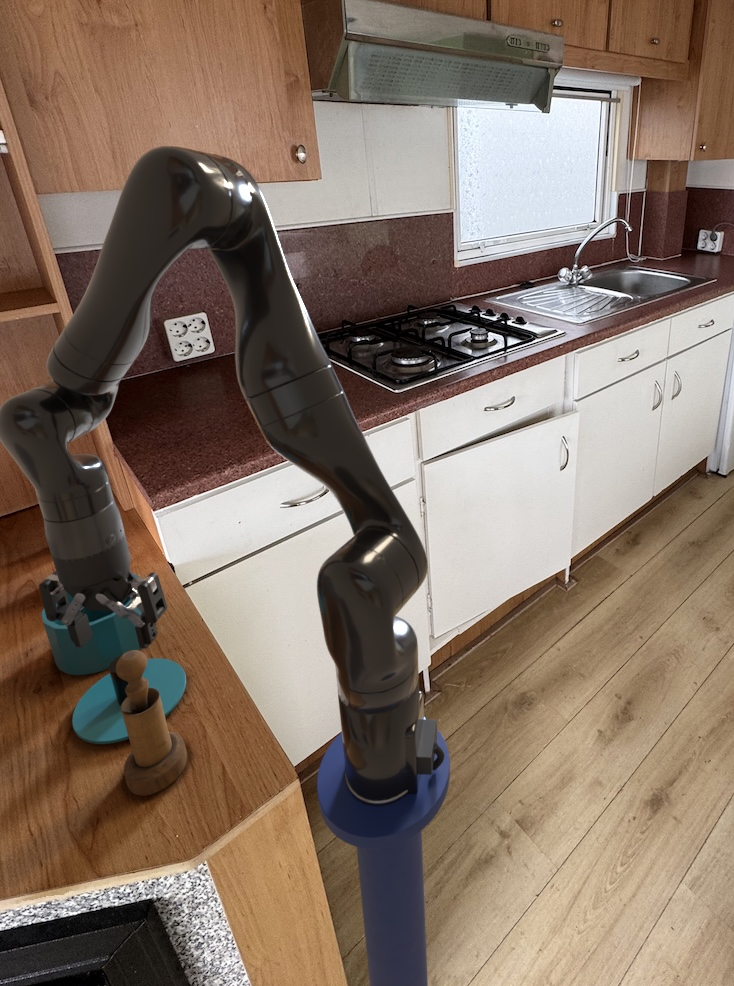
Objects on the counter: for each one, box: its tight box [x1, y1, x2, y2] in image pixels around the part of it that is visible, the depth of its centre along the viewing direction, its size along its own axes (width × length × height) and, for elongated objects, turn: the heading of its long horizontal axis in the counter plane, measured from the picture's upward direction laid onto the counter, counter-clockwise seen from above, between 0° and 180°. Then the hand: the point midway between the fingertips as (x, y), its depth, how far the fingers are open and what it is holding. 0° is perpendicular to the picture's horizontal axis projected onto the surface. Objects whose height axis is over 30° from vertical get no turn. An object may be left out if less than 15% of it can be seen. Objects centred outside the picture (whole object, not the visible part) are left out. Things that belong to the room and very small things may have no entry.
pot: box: [40, 572, 142, 676], centre depth 89 cm, size 13×13×8 cm
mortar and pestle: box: [116, 650, 188, 797], centre depth 68 cm, size 7×6×18 cm
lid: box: [71, 655, 187, 745], centre depth 79 cm, size 13×13×7 cm
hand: (116, 643), depth 76 cm, fingers open, 8 cm apart
